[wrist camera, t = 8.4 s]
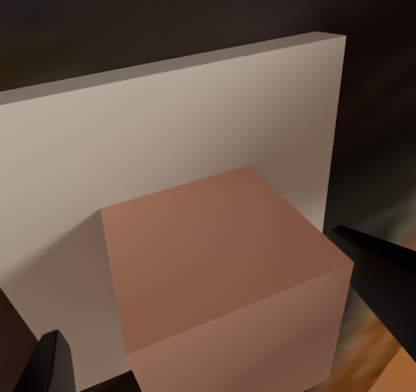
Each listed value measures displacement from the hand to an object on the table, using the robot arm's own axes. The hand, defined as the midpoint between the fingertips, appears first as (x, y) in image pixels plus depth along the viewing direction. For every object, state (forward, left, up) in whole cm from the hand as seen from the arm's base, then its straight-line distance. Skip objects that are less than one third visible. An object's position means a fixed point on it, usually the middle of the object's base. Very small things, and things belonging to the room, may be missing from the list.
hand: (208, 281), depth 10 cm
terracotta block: (0, 0, -2) cm, 2 cm away
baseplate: (0, 0, -4) cm, 4 cm away
